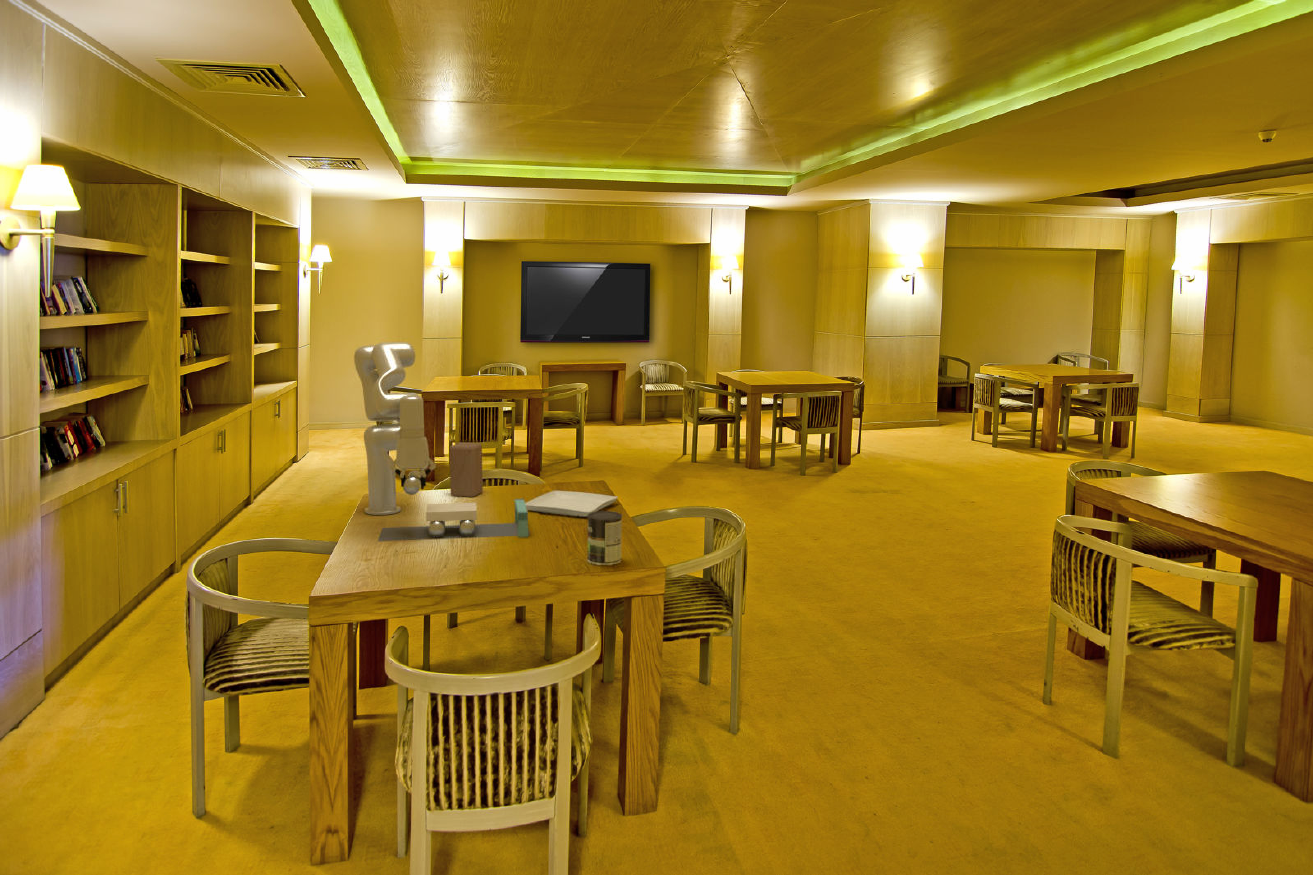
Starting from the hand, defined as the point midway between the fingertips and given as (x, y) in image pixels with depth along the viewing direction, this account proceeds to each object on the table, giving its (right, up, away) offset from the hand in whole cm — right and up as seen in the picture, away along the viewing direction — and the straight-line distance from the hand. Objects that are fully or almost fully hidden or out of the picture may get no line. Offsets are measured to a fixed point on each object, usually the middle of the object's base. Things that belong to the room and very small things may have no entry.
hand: (413, 488), depth 302 cm
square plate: (+48, -10, +43) cm, 65 cm away
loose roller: (0, 0, 0) cm, 0 cm away
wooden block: (+4, -6, +64) cm, 64 cm away
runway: (+13, -15, +5) cm, 20 cm away
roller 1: (+7, -15, +4) cm, 17 cm away
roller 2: (+16, -15, +6) cm, 23 cm away
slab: (+12, -10, +4) cm, 16 cm away
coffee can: (+64, -21, -25) cm, 71 cm away
